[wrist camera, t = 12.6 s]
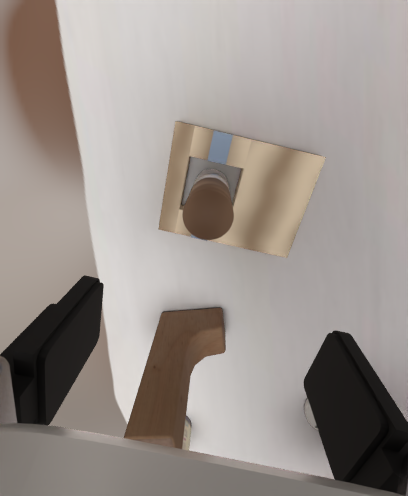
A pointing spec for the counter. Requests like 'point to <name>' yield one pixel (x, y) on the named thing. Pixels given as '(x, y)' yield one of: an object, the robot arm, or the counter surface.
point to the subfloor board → (245, 187)
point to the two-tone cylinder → (209, 206)
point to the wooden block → (173, 374)
